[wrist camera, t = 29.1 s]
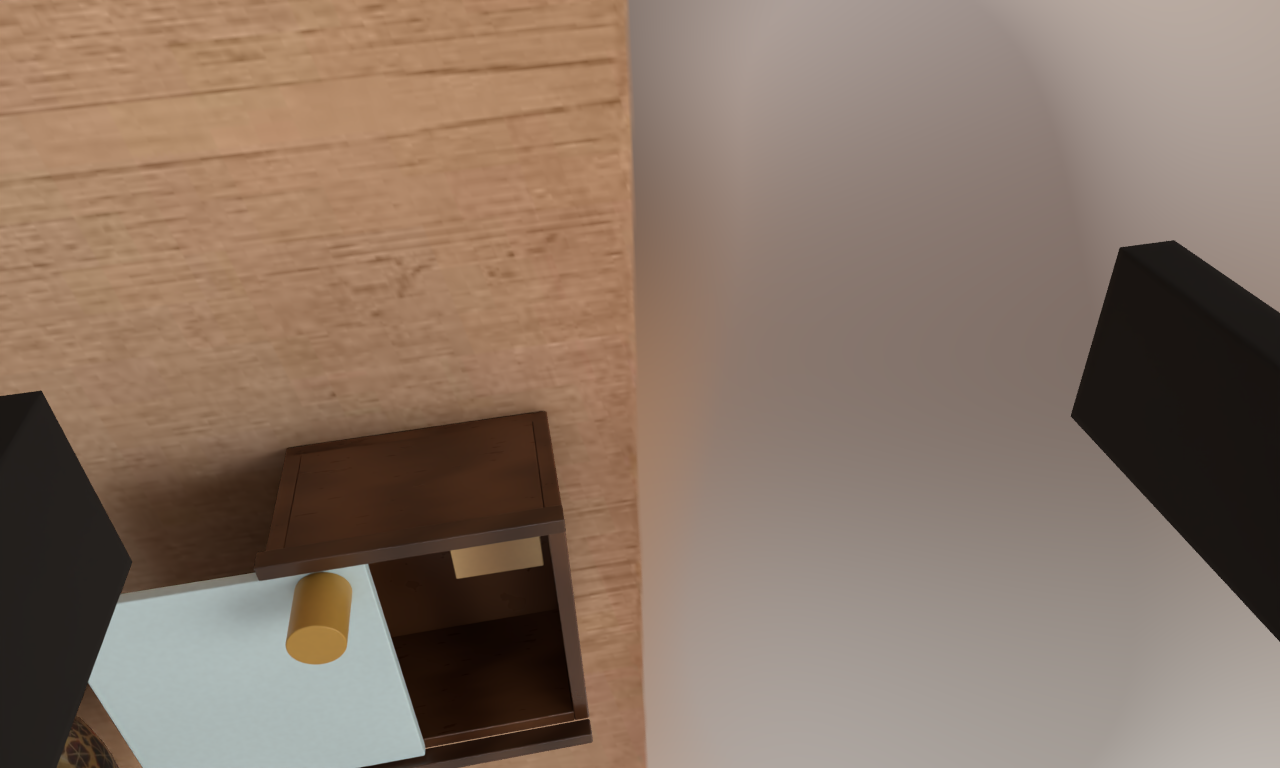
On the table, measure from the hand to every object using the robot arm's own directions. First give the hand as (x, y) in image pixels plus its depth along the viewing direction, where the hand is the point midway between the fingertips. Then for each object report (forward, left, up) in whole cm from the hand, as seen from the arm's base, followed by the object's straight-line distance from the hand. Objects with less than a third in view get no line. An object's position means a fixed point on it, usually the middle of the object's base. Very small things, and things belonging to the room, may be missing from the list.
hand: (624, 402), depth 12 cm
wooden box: (+7, +29, -29) cm, 41 cm away
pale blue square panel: (+16, +29, -21) cm, 39 cm away
